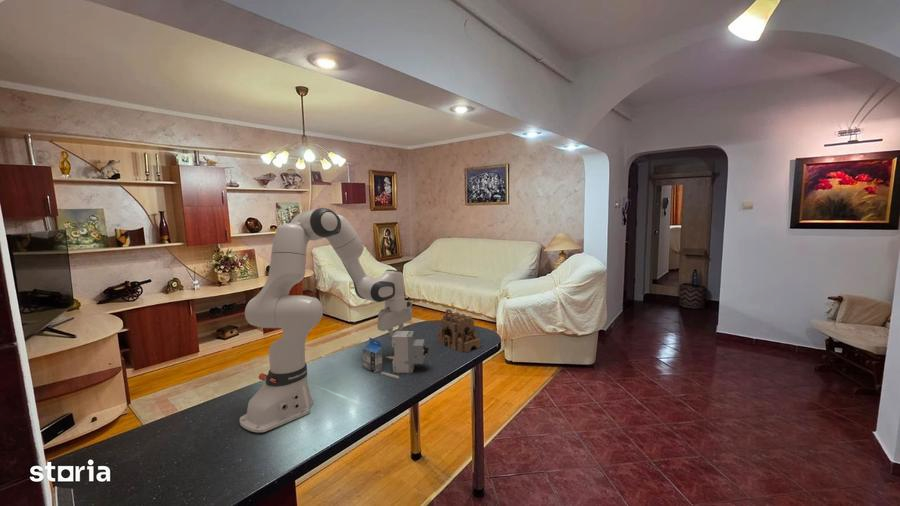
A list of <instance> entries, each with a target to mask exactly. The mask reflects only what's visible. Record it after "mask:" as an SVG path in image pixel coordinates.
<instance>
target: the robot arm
mask: <svg viewBox="0 0 900 506" xmlns="http://www.w3.org/2000/svg"><path fill="white" fill-rule="evenodd" d="M321 239H326V240H327V241H328V242H329V244H330V246H331V248H332V249H333V251H335V253H336V255H337V256H338V258H339V259H340V261H341V262H342V264H343V266H344V267H345V268H344V269H345V270H346V271H347V273H348V275H349V277H350V278H351V280H352V282H353V287H354V291H355V294H356V296H357V297H358V298H360V299H362V300H368V301H372V302H376V303H382V302H384V308H382V309H380V310H379V312H378V315H377V323H376V324H377V326H376V327H377V330H378V331H381V332H386V331H387V332H388V333H389V334H388V335H389V337H390V338H392V336H393V335H394V333H395V332H394V328H396V327H397V326H398V328H397V329H396V332H398V331H403V328H404V324H405V323H408V322H410V321H412V319H413V307H412V306H413V303H412V301H411V300H406V299H405V295H404V291H405V280H404V276H403V275H404V274H403V272H401V271H400V270H396V269H386V270H385V271H384V272H383V273H382V274H381V275H380V276H378V277H376V278H373V277H371V276H369V275H368V274H366V272H365V270H364V268H363V266H362V264H361V263H360V261H359V258H360V257H361V256H362V254H363V252H364V245H363V241H362V240H361V238H360V236H359V234H358V232H357V231H356V229H355V228H354V227H353V225H352V224H351V223H350V221H348V220H347V218H346V217H345V216H343V215H342V214H337V213H336V212H335V211H333V210H332V209H330V208H325V207H321V208H320V207H319V208H316V209H308V210H304V211H302V212H299V213H296V214H295V215H293V216H292V217H291V218H290V219H289V221H288V222H287V223H283V224H280V225H279V226H278V227H277V228H276V231H275V233H274V237H273V241H272V246H271V254H270V263H269V268H268V275H267V278H266V281H265V284H264V285H263V287H262V288H261V290H260V291H259V292H258V293H257V294H256V295H255V296H254V297H253V298H251V299H250V300H249V301H248V303H247V304H246V306H245V309H244V318H245V320H246V322H247V323H248V324H249V325H251V326H252V327H253V326H254V327H258V328H262V329H282V334H281V337H280V338H278V339H276V340H274V341H273V342H272V343H271V345H270V346H269V349H268V358H269V370H268V371H267V374H266V373H263V372H262V373H259V375H258V377H257V378H258V380H261V381H265V383H264V384H263V385H262V386H261V387H260V388H259V389H258V390H257V392H256V393H255V394H254V395H253V396H252V397H251V398H250V399H249V400H248V402H247V410H246V413H245V414H244V415H242V416H240V417H239V425H240V427H242V428H243V429H245V430H247V431H249V432H253V433H265V432H268V431H270V430H272V429H275V428H278V427H280V426H282V425H284V424H287V423H289V422H291V421H294V420H297V419H299V418H301V417H303V416H307V415H308V414H310V412H311V407H312V405H313V403H314V401H313V399H312V396H311V392H310V389H309V384H308V365H307V363H306V340H307V337H308V335H309V333H310V332H311V330H313V328H315V327H316V326H317V325H319V323H320V322H321V319H322V318H323V314H324V308H323V305H322V302H321V301H320V300H319V298H317V297H314V296H313V297H312V296H308V295H292V294H291V295H290V291H291V289H292V288H293V287H294V286H295V285H296V284H297V285H298V284H299V283H300V282H301V281H303V279H304V278H305V274H306V264H307V263H306V262H307V246H308V243H309V241H316V240H321Z"/></svg>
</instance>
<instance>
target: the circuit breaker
mask: <svg viewBox="0 0 900 506" xmlns="http://www.w3.org/2000/svg"><path fill="white" fill-rule="evenodd" d="M393 333H394V335H393V336H392V337H391V348H393V349H394V353H393V354H394V355H393V356H395V357H394V360H393V359H392V373H393V374H394V373H396V374H398V373H399V374H400V373H401V374H402V373H403V374H404V373H405V374H406V373H407V374H409V373H414V369H415V366H416V364H418V365H419V364H424V362H425V358H426V354H428V352H429V347H426V345H425V344H426V343H425V341H426V340H425V339H423V338H422V339H415V330H402V331H398V332H397V330H396V331H394V332H393Z"/></svg>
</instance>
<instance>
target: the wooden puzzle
mask: <svg viewBox="0 0 900 506" xmlns="http://www.w3.org/2000/svg"><path fill="white" fill-rule="evenodd" d="M448 312H449V313H448ZM436 340H437V341H438V342H439V343H440V344H442V346H443V347H445V345H447V348H448V349H452V350H454V351H457V352H459V353H462V352H464V353H469V352H471V349H472V348H474V349H480V348H482V347H481V346H482V343H481V342H482V339H481V338H479V336H478V334H477V333H476V328H475V320H474V319H473V316H471V315H468V316H466V314H464V313H462V314H460V313H459V311H457V312H453V311H452V309H446V310H445V315H443V316H442V318H440V327H439V331H438V332H437V333H436Z"/></svg>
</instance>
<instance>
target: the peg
mask: <svg viewBox="0 0 900 506" xmlns="http://www.w3.org/2000/svg"><path fill="white" fill-rule="evenodd" d="M380 372H381V373H380V374H381V375H382V376H385V377H389V378H392V379H396V380H400V376H399V375H395V374H394V373H393V374H392V373H388V372H385V371H380Z"/></svg>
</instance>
